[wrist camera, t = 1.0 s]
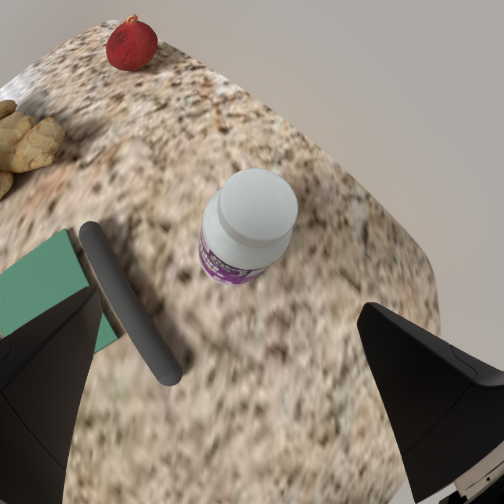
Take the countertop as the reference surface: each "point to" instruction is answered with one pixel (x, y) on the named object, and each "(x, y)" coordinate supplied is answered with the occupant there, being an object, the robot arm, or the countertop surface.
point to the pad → (45, 286)
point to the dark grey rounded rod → (128, 306)
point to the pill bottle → (246, 226)
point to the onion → (131, 45)
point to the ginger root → (25, 143)
